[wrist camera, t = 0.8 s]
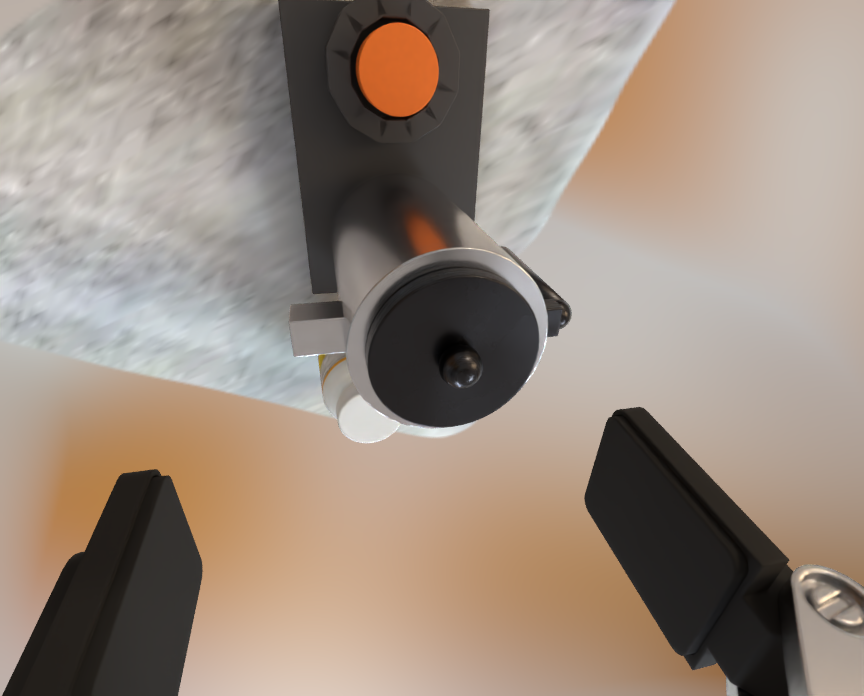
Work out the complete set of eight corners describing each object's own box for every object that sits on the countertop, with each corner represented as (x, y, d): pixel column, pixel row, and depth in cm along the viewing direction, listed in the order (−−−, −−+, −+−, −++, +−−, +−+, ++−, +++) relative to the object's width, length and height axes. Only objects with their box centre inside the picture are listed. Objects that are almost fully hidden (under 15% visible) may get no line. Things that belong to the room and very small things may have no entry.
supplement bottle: (302, 342, 35) (305, 419, 27) (356, 298, 34) (376, 363, 26) (349, 384, 38) (365, 465, 30) (400, 344, 37) (430, 416, 29)
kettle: (287, 174, 25) (268, 283, 13) (495, 171, 28) (649, 259, 15) (304, 306, 30) (302, 486, 17) (484, 293, 32) (598, 442, 19)
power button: (353, 23, 23) (356, 20, 22) (432, 27, 24) (440, 24, 22) (357, 113, 25) (360, 116, 24) (430, 114, 26) (437, 117, 24)
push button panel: (278, -9, 24) (274, -21, 21) (478, 3, 27) (502, -6, 23) (312, 281, 33) (312, 306, 30) (461, 272, 35) (477, 294, 32)
